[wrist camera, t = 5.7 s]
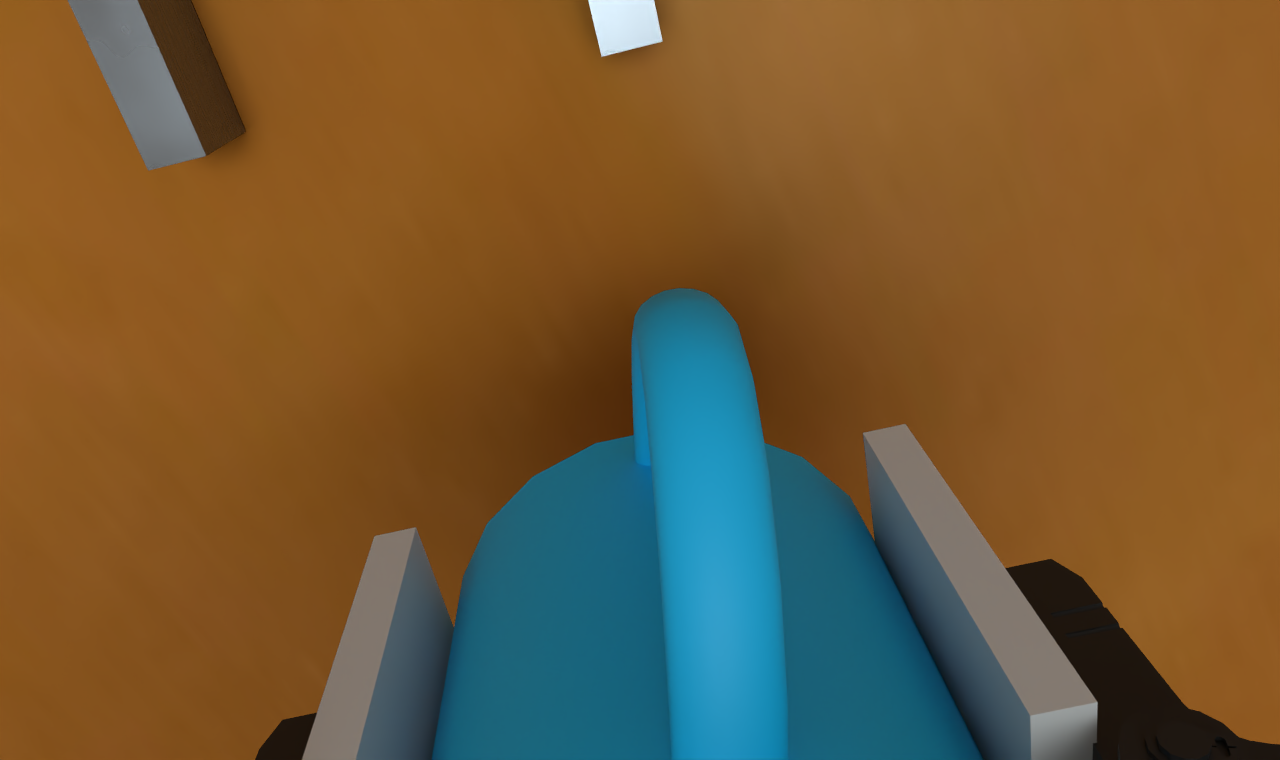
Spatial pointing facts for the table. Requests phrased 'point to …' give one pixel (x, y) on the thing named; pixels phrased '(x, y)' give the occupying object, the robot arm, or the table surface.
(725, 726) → the mug
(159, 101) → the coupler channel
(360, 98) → the table surface
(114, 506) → the table surface
